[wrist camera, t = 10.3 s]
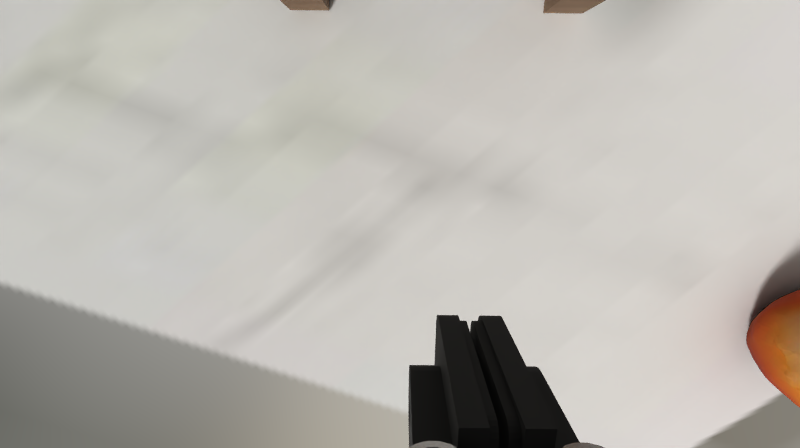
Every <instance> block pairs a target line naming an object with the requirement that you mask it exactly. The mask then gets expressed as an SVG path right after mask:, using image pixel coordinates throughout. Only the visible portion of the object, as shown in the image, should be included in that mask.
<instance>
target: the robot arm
mask: <svg viewBox="0 0 800 448" xmlns="http://www.w3.org/2000/svg"><path fill="white" fill-rule="evenodd" d="M409 448H604V447H602V446H599V445H594V444H590V443H580V442H579V440H578V439H577V437H576V435H575V433H574V431H573V429H572V428H571V426H570V424H569V422H568V420H567V418H566V417H565V415H564V413H563V411H562V409H561V407H560V406H559V404H558V402H557V400H556V398H555V396H554V395H553V393H552V391H551V389H550V387H549V385H548V384H547V382H546V380H545V378H544V376H543V374H542V373H541V371H540V370H539V368H537V367H526V365H525V363H524V361H523V359H522V357H521V355H520V353H519V351H518V349H517V347H516V345H515V343H514V341H513V339H512V337H511V335H510V333H509V331H508V329H507V327H506V325H505V323H504V321H503V319H502V317H501V316H479V318H478V321H472V322H471V330H470V331H469V328H468V325H467V322H466V321H460V320H459V317H458V315H437V320H436V344H435V365H410V366H409Z"/></svg>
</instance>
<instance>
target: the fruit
mask: <svg viewBox="0 0 800 448" xmlns="http://www.w3.org/2000/svg"><path fill="white" fill-rule="evenodd" d="M746 341H747V345H748V348H749V350H750V353H751V355H752V357H753V359H754V361H755V362H756V364H757V365H758V367H759V369H760V370H761V372H762V373H763V374H764V376H765V377H766V378H767V379H768V380H769V381H770V382H771V383H772V384H773V385H774V386H775V387H776V388H777V389H778V390H780V391H781V392H782V393H783V394H784V395H786V396H787V397H788V398H789V399H790V400H791V401H792V402H793V403H795V404H796V405H797V406H799V407H800V290H797V291H795V292H792V293H790V294H787V295H785V296H783V297H781V298H779V299H777V300H775V301H774V302H772V303H771V304H769V305H768V306H767V307H766V308H765V309H764V310H763V311H762V312H760V313H759V314H758V315H757V317H756V318H755V319H754V320H753V321H752V322H751V325H750V327H749V329H748V332H747V339H746Z"/></svg>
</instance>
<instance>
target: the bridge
mask: <svg viewBox="0 0 800 448" xmlns="http://www.w3.org/2000/svg"><path fill="white" fill-rule="evenodd" d="M280 1H281V2H283V3H284V4H285V5H286V6H287V7H288V8H289V9H290V10H329V0H280ZM603 1H605V0H545V2H544V12H543V13H584V12H586V11H587V10H589V9H591V8H593V7H595V6H596V5H598V4H600V3H602V2H603Z"/></svg>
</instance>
